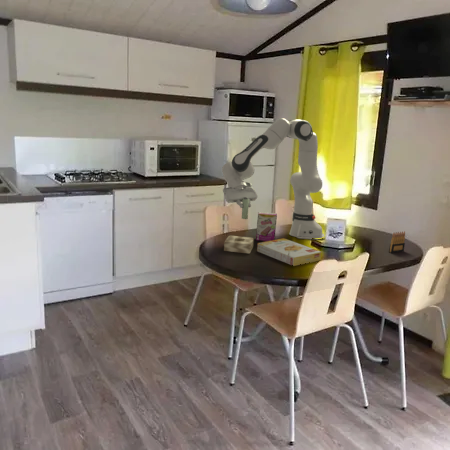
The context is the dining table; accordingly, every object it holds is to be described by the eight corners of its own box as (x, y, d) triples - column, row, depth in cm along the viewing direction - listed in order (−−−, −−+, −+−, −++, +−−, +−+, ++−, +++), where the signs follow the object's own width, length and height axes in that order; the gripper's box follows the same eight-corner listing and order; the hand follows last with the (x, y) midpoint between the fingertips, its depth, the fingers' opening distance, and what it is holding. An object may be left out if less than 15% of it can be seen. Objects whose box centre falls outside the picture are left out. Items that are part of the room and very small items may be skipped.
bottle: (248, 217, 254) (249, 197, 251) (247, 219, 250) (248, 198, 248) (242, 217, 254) (243, 196, 252) (241, 218, 251) (242, 197, 248)
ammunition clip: (391, 253, 252) (394, 232, 250) (388, 252, 254) (391, 231, 251) (403, 251, 258) (407, 231, 255) (401, 250, 259) (404, 230, 257)
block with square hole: (253, 246, 249) (253, 238, 248) (249, 253, 235) (250, 244, 234) (228, 243, 251) (229, 235, 250) (223, 250, 238) (224, 241, 237)
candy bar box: (255, 240, 261) (257, 213, 257) (255, 238, 266) (257, 211, 262) (274, 242, 260) (277, 214, 257) (274, 240, 265) (277, 213, 261)
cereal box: (283, 237, 251) (322, 250, 230) (282, 246, 253) (321, 260, 231) (256, 242, 239) (295, 256, 218) (256, 252, 241) (294, 267, 219)
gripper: (224, 184, 248) (233, 205, 242) (253, 183, 259) (262, 202, 254) (219, 191, 253) (228, 211, 247) (248, 189, 264) (257, 208, 258)
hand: (246, 207), depth 250 cm, fingers closed on bottle, 3 cm apart
